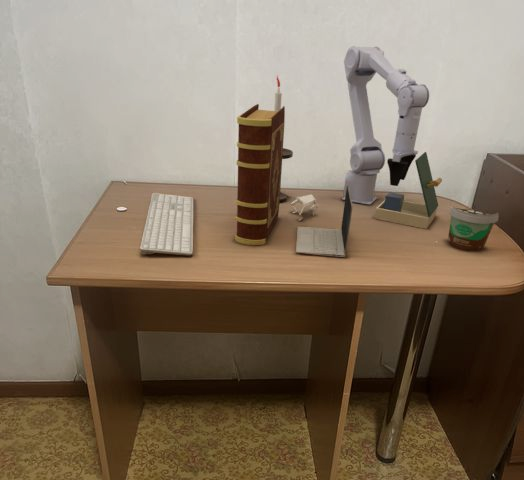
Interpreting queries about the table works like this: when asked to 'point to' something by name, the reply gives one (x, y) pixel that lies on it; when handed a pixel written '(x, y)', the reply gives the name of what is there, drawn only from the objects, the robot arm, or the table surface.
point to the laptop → (326, 236)
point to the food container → (470, 228)
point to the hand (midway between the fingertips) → (397, 182)
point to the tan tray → (406, 214)
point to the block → (393, 201)
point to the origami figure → (305, 203)
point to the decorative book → (259, 173)
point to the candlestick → (286, 152)
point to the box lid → (427, 183)
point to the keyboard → (169, 225)
